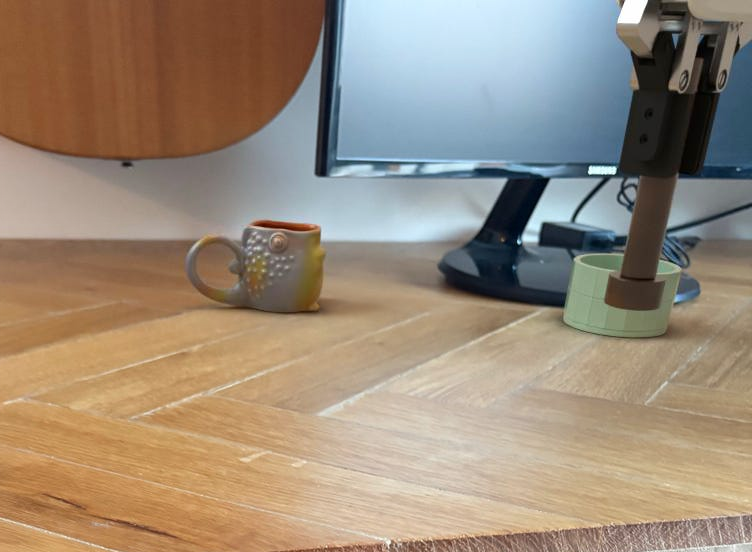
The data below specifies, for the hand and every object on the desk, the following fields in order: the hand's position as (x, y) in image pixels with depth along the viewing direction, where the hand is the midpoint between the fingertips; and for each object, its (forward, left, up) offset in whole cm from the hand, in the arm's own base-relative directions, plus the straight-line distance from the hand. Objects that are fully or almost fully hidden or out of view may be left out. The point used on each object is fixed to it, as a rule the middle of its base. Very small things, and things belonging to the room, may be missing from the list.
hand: (660, 170), depth 55 cm
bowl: (-14, -24, -15) cm, 32 cm away
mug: (+16, -32, -15) cm, 39 cm away
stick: (0, 0, -7) cm, 7 cm away
